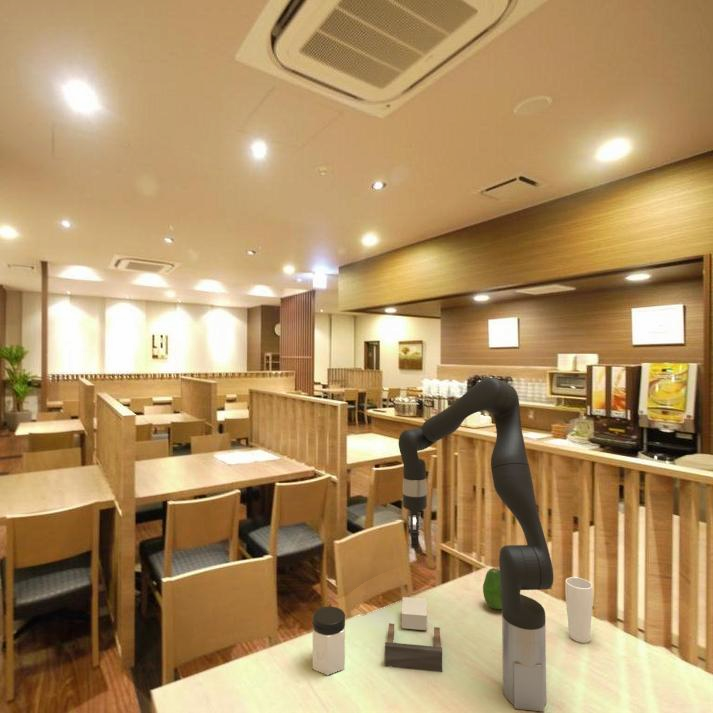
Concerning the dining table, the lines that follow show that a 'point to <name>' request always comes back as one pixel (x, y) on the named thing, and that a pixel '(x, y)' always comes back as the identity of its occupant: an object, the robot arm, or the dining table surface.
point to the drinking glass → (579, 608)
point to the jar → (328, 640)
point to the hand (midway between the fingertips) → (414, 547)
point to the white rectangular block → (414, 613)
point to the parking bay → (413, 653)
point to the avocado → (492, 589)
